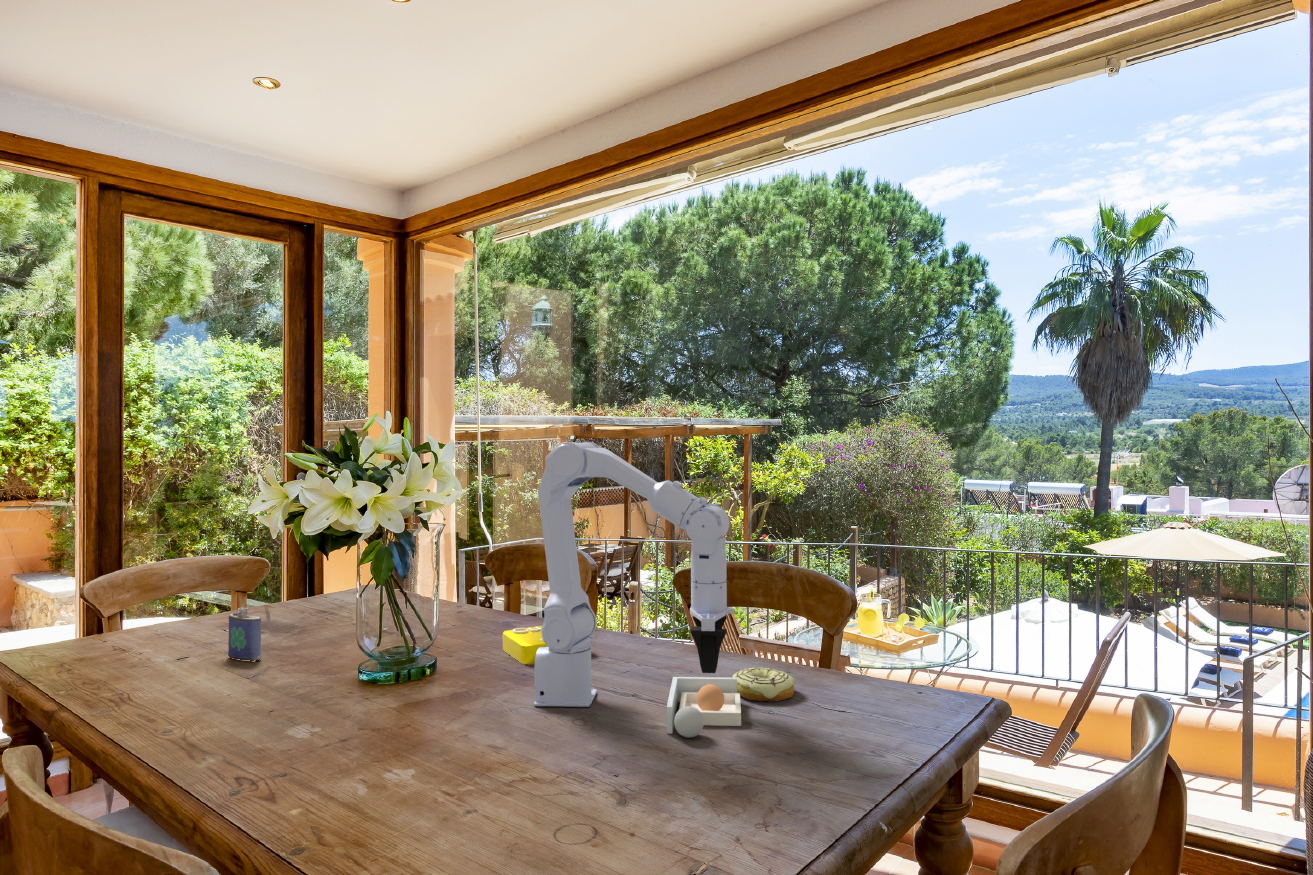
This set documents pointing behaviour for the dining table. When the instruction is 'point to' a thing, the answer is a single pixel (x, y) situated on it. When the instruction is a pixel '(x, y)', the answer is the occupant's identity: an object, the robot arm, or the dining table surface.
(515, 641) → the element tile
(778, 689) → the decorated donut
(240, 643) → the flask
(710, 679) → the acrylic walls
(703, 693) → the terracotta ball
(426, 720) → the dining table surface
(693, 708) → the grey ball
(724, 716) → the ceramic dish
